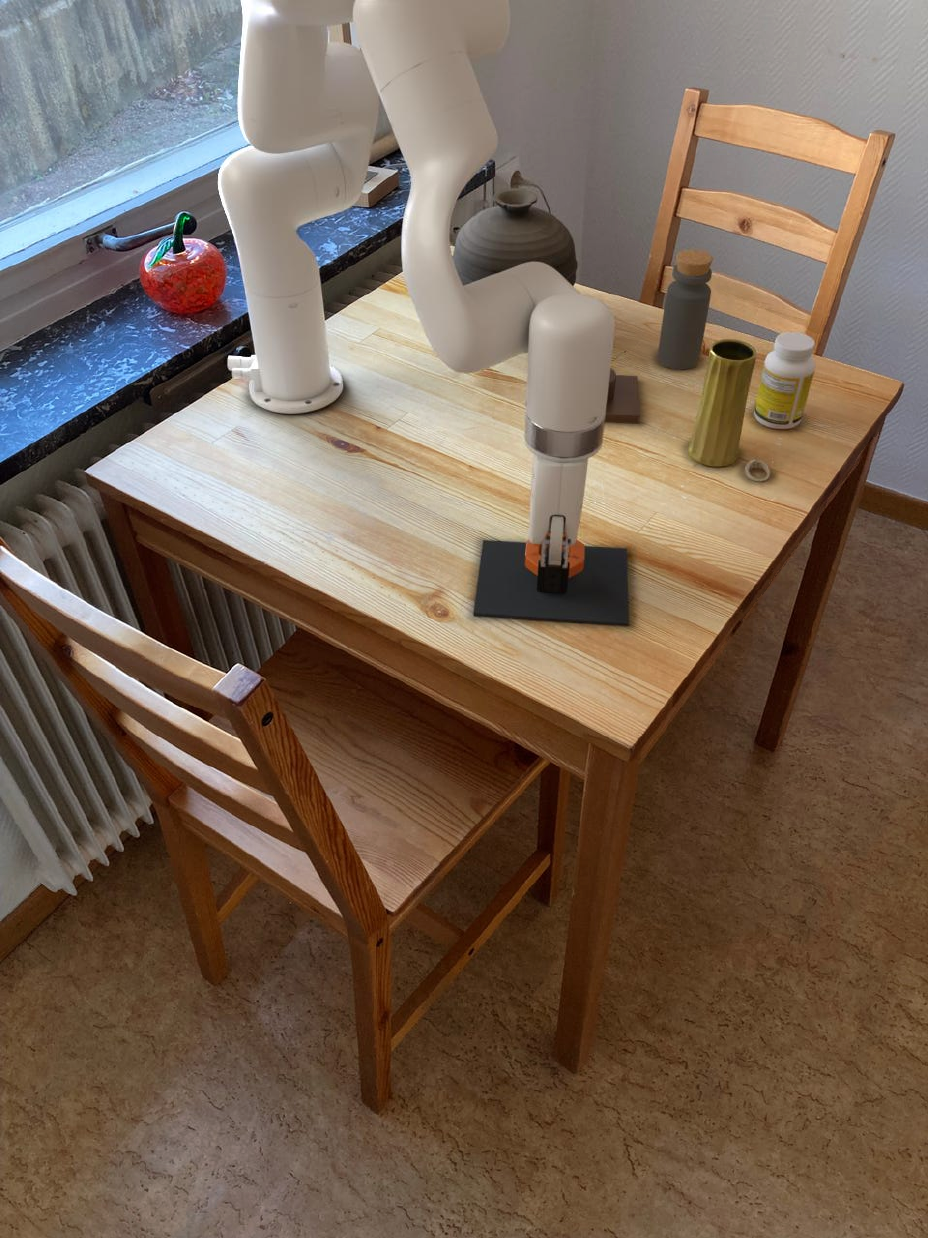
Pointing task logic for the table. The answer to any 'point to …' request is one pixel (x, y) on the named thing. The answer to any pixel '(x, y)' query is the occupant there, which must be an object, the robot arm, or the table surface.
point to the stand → (622, 399)
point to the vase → (722, 403)
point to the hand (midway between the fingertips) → (553, 568)
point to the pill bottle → (785, 381)
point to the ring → (758, 465)
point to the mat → (586, 601)
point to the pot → (513, 239)
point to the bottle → (686, 311)
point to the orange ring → (574, 551)
